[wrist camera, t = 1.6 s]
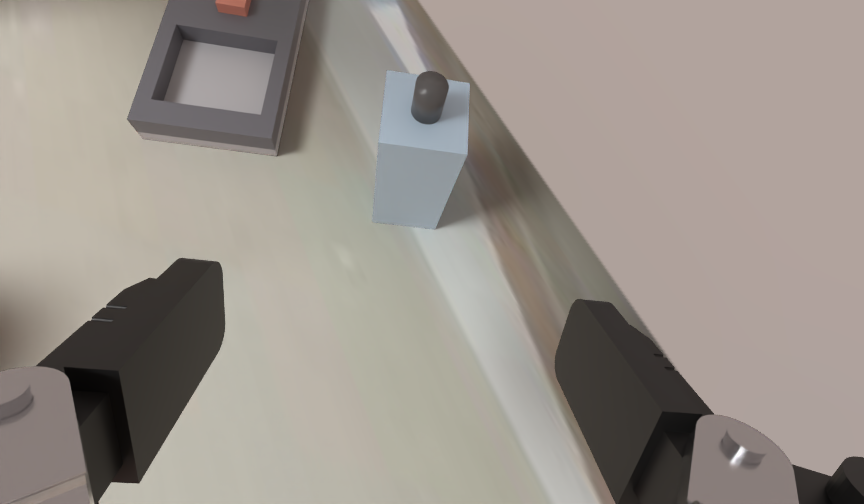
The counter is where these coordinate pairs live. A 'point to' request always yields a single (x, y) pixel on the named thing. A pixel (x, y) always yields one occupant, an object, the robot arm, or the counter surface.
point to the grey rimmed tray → (220, 74)
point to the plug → (419, 147)
